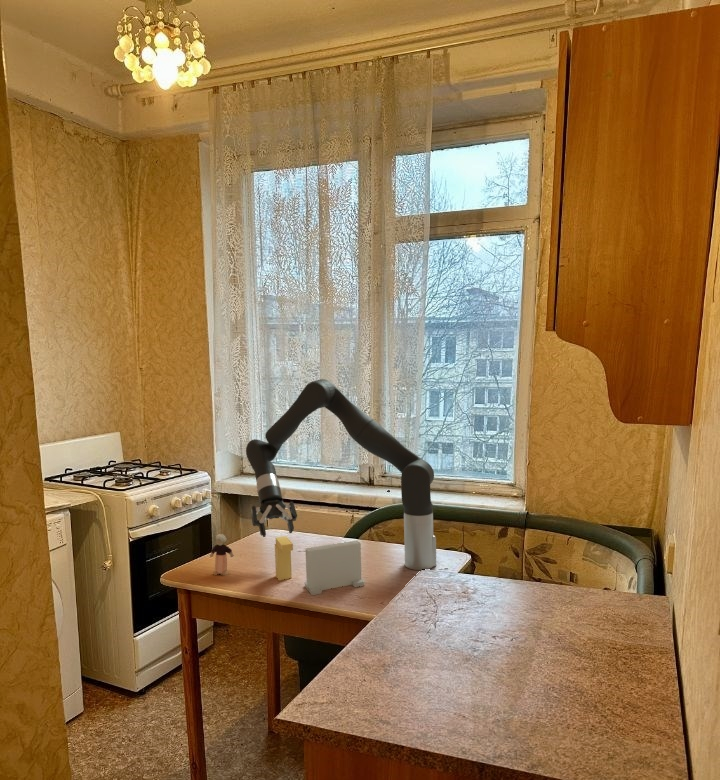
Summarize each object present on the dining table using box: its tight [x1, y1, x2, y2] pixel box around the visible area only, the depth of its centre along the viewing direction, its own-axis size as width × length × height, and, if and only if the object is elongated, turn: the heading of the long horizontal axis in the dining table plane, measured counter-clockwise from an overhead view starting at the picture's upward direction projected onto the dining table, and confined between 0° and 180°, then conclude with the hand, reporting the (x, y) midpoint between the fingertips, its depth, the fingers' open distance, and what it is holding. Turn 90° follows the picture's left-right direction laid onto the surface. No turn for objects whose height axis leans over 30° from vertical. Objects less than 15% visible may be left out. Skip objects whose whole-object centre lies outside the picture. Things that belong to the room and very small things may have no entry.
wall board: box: [304, 540, 365, 596], centre depth 164 cm, size 16×7×12 cm, turn 112°
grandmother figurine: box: [209, 533, 235, 576], centre depth 175 cm, size 8×4×13 cm, turn 92°
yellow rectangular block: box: [274, 535, 294, 581], centre depth 169 cm, size 4×8×12 cm, turn 22°
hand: (278, 534), depth 177 cm, fingers open, 8 cm apart
